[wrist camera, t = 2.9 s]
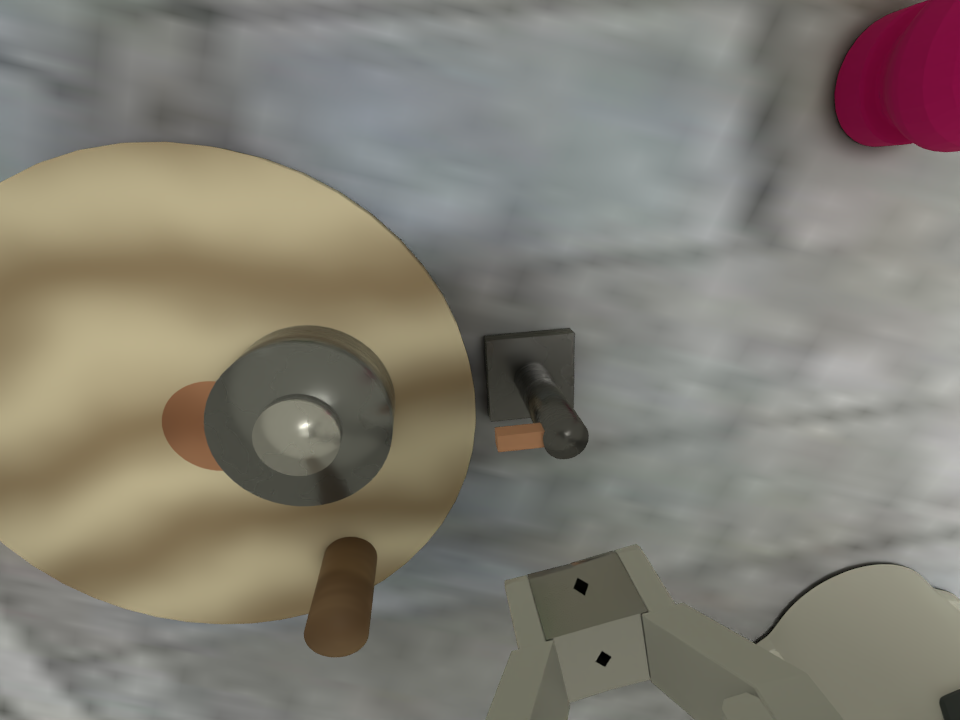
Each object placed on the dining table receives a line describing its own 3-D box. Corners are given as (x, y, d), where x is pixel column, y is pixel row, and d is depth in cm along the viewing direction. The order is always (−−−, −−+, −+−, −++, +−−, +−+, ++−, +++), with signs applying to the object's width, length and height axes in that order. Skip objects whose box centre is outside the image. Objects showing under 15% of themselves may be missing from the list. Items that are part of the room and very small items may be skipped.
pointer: (569, 328, 28) (624, 381, 20) (568, 405, 30) (618, 481, 22) (475, 336, 27) (496, 394, 20) (480, 415, 29) (501, 494, 22)
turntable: (514, 539, 30) (538, 627, 24) (108, 649, 30) (28, 769, 24) (396, 80, 21) (386, 38, 15) (-203, 226, 20) (-471, 244, 14)
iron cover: (414, 448, 26) (413, 490, 22) (267, 487, 25) (242, 537, 22) (367, 306, 23) (358, 329, 19) (201, 349, 22) (160, 380, 19)
